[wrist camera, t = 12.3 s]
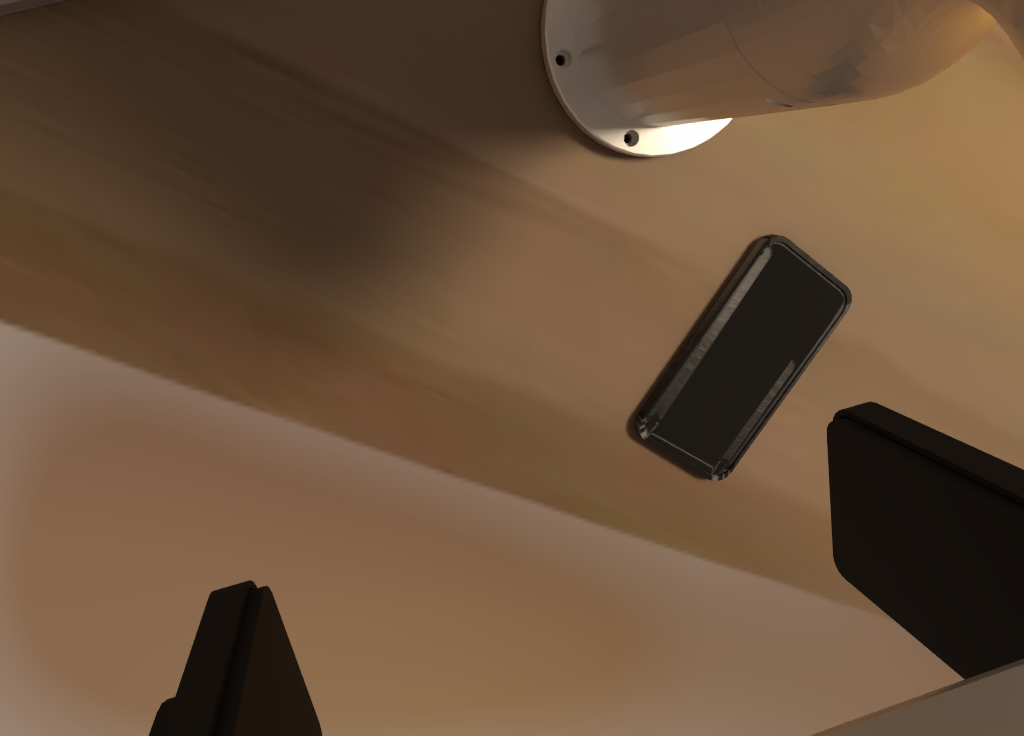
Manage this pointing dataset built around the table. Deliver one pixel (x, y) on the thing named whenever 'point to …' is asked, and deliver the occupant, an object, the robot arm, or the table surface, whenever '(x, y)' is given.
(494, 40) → the table surface
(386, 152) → the table surface
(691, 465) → the phone
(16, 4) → the candle stand
